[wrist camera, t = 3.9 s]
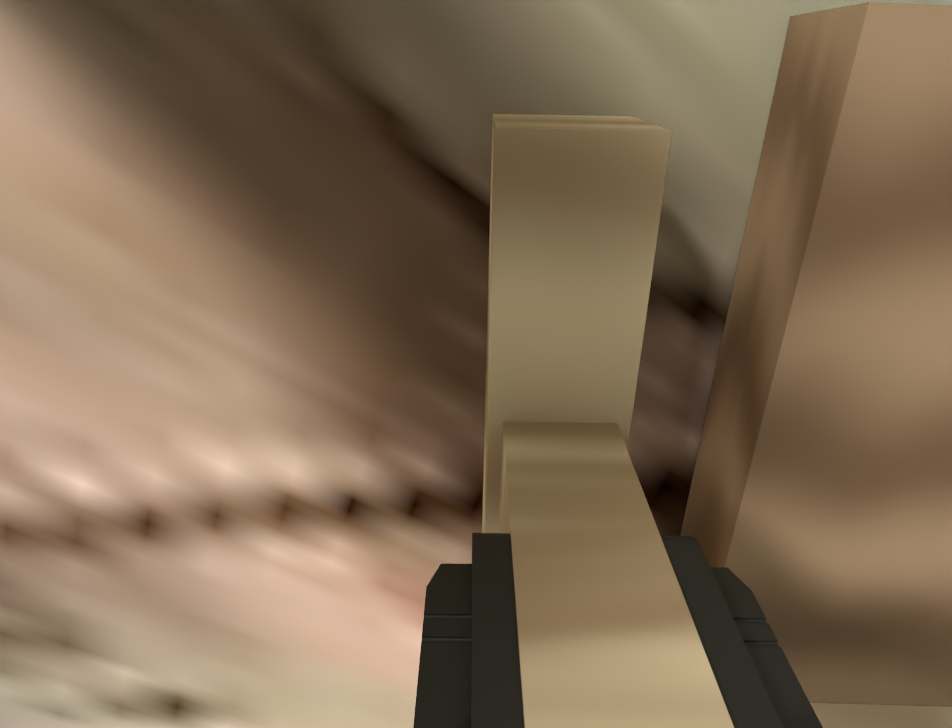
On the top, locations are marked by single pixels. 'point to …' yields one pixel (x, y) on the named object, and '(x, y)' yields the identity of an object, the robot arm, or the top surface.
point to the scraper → (582, 427)
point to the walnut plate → (844, 364)
